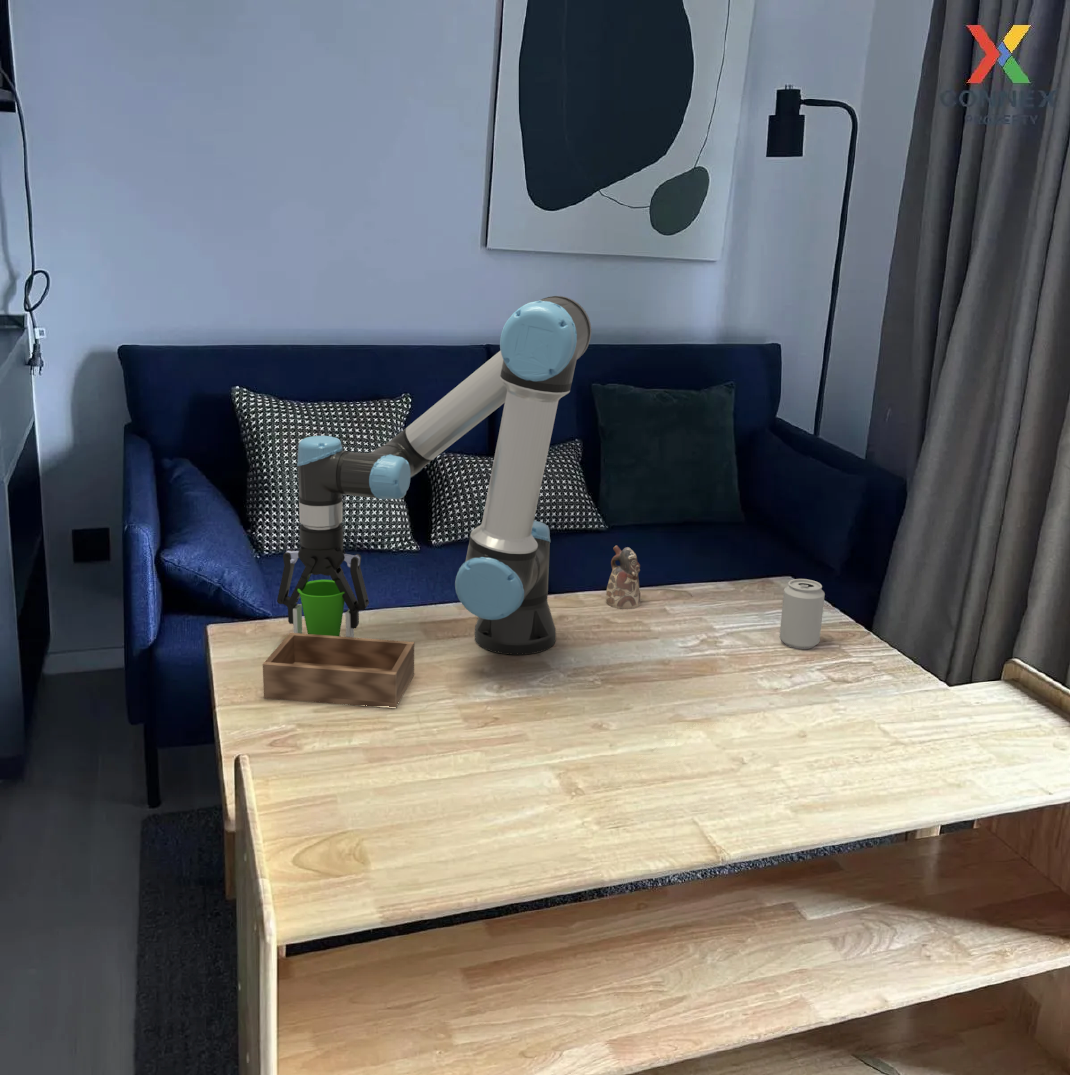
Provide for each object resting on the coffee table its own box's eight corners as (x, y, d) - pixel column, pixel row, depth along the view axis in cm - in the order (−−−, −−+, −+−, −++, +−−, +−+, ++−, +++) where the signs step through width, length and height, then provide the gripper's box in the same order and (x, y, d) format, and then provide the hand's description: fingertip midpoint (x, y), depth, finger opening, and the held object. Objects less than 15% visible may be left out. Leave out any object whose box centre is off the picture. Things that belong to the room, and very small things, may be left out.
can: (822, 640, 225) (829, 580, 222) (814, 653, 219) (821, 592, 215) (784, 632, 228) (790, 574, 225) (774, 645, 222) (780, 585, 218)
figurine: (629, 611, 237) (633, 554, 233) (599, 604, 241) (601, 548, 237) (646, 601, 243) (649, 546, 239) (616, 594, 246) (619, 539, 243)
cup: (338, 656, 211) (337, 598, 208) (291, 650, 212) (289, 593, 209) (356, 638, 219) (355, 582, 216) (310, 632, 221) (308, 577, 218)
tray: (414, 674, 204) (414, 641, 203) (395, 708, 191) (395, 674, 189) (291, 664, 207) (289, 632, 205) (263, 697, 193) (262, 664, 192)
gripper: (386, 521, 212) (387, 638, 218) (268, 514, 214) (273, 630, 220) (376, 533, 204) (377, 654, 211) (254, 525, 207) (259, 645, 213)
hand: (324, 641), depth 216 cm, fingers closed on cup, 9 cm apart
